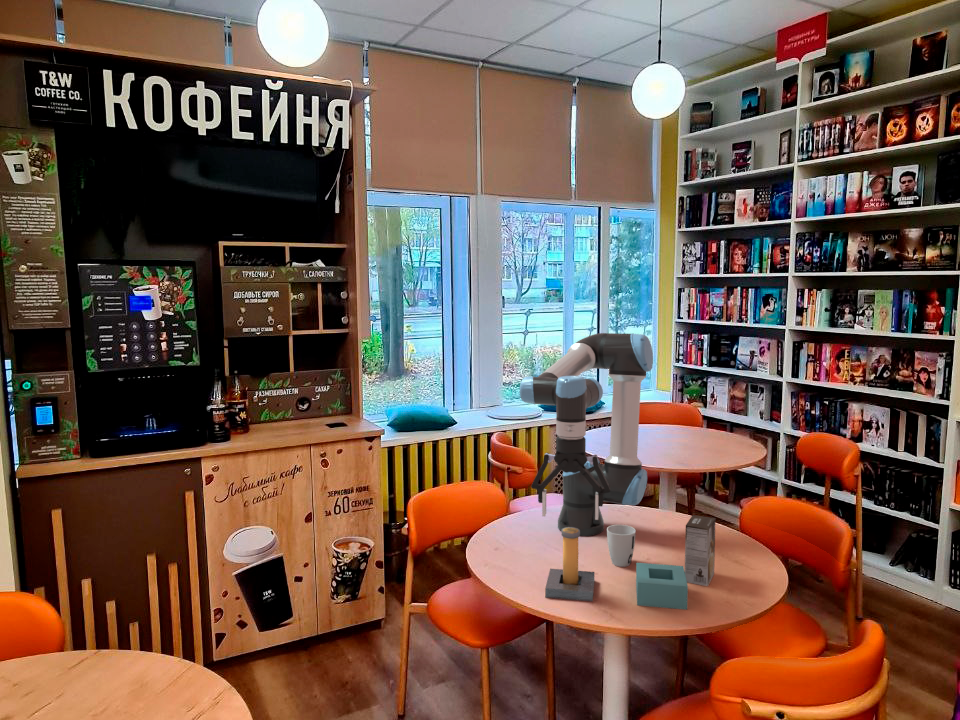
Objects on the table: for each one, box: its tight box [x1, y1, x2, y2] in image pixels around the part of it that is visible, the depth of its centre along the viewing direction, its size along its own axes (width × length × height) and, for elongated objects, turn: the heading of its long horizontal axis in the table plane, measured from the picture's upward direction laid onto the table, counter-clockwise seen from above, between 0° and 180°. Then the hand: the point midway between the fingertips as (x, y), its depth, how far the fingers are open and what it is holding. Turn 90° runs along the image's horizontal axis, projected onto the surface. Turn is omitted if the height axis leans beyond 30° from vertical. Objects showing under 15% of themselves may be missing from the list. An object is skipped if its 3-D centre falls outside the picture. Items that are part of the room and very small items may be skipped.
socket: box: [635, 562, 689, 610], centre depth 168 cm, size 12×12×6 cm
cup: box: [606, 524, 637, 568], centre depth 188 cm, size 8×8×10 cm
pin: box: [560, 527, 580, 585], centre depth 172 cm, size 5×5×16 cm
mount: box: [545, 568, 595, 602], centre depth 173 cm, size 12×12×2 cm
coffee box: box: [684, 514, 717, 587], centre depth 177 cm, size 9×6×16 cm
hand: (570, 516), depth 170 cm, fingers open, 13 cm apart
